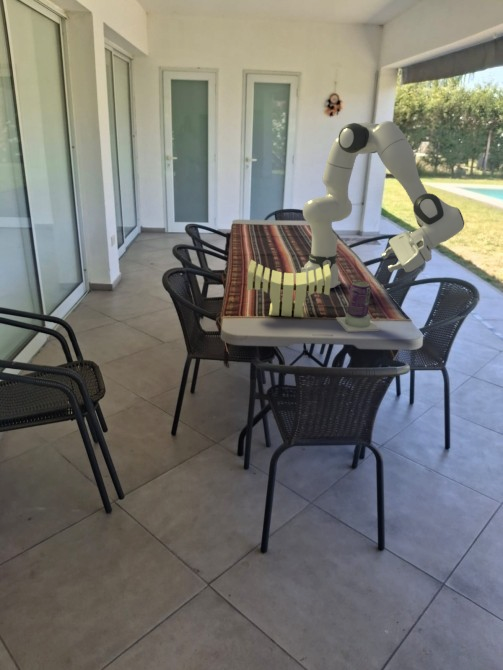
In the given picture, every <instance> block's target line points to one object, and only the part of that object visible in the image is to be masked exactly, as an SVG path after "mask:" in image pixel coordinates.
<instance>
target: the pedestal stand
mask: <svg viewBox="0 0 503 670" xmlns="http://www.w3.org/2000/svg"><path fill="white" fill-rule="evenodd" d="M371 318H372V316H371V314H369V313H367V315H366V316H364V317H360V318H358V317H353V316H351V315H350V314H348V311H347V312H346V313H345V316H342V317H341V316H340V317H337V316H336V319H335V320H336V321H337V323H339V324H340V326H342V328H343V329H344V330H345V331H346V332H347V333H354V332H355V333H356V332H357V333H359V332H379V331H380V328H379V327H378V326H377V325H376V324H375V323H374V322H373V321H372V320H371Z"/></svg>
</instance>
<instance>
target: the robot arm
mask: <svg viewBox="0 0 503 670" xmlns="http://www.w3.org/2000/svg"><path fill="white" fill-rule="evenodd" d="M331 145H332V146H331V147H330V149H329V153H328V156H327V159H326V164H325V167H324V171H323V174H322V175H323V176H322V183H323V185H324V186H325V187H326V194H325V196H320V197H314V198H313V199H309V200H308V201H306V202H305V203H304V205H303V207H302V215H303V219H304V220H305V222H307V223H308V225H309V228H310V231H311V249H310V250H311V251H310V254H309V255H308V261H307V262H306V263H305V264H304V267H302V266H301V268H300V269H301V270H300V273H302V272H306V280H307V285H308V271H311V270H313V271H314V279H315V285H316V269H317V268H320V267H321V271H322V276H323V284H322V286H324V274H323V266H325V265H327V264H329V268H330V272H331V283H330V289H332V288H336V287H337V286H339V285H341V281H340V280H339V266H338V265H337V260H338V256H337V255H338V254H337V247H338V239H339V238H338V236H337V234H336V233H335V232H334V231H333V225H332V223H335V222H341V221H343V220H345V219H347V218H348V217H350V215H351V213H352V210H353V205H352V201H351V200H350V198H349V184H350V181H351V176H352V172H353V169H354V167H355V163H356V162H355V161H356V159H357V157H358V155H359V154H360V155H365V154H376V153H377V155H378V157H379V159H380V161H381V162H382V164H383V165H384V167H385V168H386V170H387V171H388V172H389V173H390V174H391V175H392V176H393V178H395V179H396V180H397V182H398V183H399V184H400V185H401V186H402V187H403V189H404V190H405V192H406V194H407V196H408V198H409V200H410V202H411V203H412V205H413V207H412V208H413V210H412V211H413V214H414V216H415V219H416V223H417V225H418V227H419V228H417V229H416V230H414V231H413V230H412V231H409V230H407V231H403V232H401V233H398V234H396V235H395V236H393V237H392V238H390V239H389V240H388V243H389V247H388V248H386V250H385V251H384V252H382V253H381V254H380V256H381V258H382V260H386V259H387V258H389V255H390V254H393V253H394V255H395V257H396V258H397V259H398V262H396V264H390V265H388V266H387V269H388V271H389V272H390V273H393V272H394V271H398V270H401V269H403V270H404V272H405V273H409V272H412V271H414V270H416V269H418V268H419V267H421V266H423V265H424V263H425V262H426V263H429V262H430V261H432V250H433V249H435V248H436V247H437V246H439V245H440V244H442V243H444V242H447V241H449V240H450V239H451V238H454V236H456V235H457V234H459V233H460V232H461V231H463V230H464V226H465V220H464V217H463V214H462V211H461V210H460V208H458V207H455V206H453V205H450V204H449V203H447V202H445V201H444V200H442V199H441V198H439V197H438V196H437V195H435V194H433V193H429V192H428V191H427V190H426V187H425V186H424V184H423V181H421V179H420V176H419V171H418V167H417V166H418V165H417V161H416V157H415V154H414V151H413V148H412V146H411V143H410V142H409V140H408V138H407V137H406V135H405V134H404V133H403V131H402V130H401V129H400V128H399V126H398V125H397V124H396V123H395V122H393V121H391V120H385V121H383V122H381V123H374V122H373V123H371V122H361V123H359V122H358V123H356V122H351V123H348V124H346V125H344V126H343V127H342V128H341V130H340V131H339V134H338V136H337V137H336V138H335V140H334V141H333V143H332V144H331Z"/></svg>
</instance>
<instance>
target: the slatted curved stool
mask: <svg viewBox="0 0 503 670" xmlns="http://www.w3.org/2000/svg"><path fill="white" fill-rule="evenodd" d="M263 271H264V272H263ZM270 274H271V278H270ZM323 274H324V286H322V284H323V276H322V271H321V267H320V268H317V269H316V285H315V279H314V271H313V270H311V271H308V285H307V280H306V272H296V273H294V272H293V273H292V272H291V273H289V272H284V273H282V271H278V270H274V269H272V271H271V269H270V268H269V267H265V268H264V265H262V264H260V263H258V264H257V262H256V261H255V260H253V259H250V262H249V266H248V271H247V281H246V282H247V286H246V287H247V288H246V291H253V289H254V290H256V291H257V290H258V291H260V290H262V291H263V292H264V293H266V294H268V292H269V299H270V301H271V303H270V304H269V305H270V306H269V313H268V316H280V315H281V317H292V315H293V318H295V317H296V318H304V303H305V301H306V299H307V298H306V297H307V296H311V295H314V294H315V293H316V294H322V293H323V294H324V295H327V296H330V294H331V293H330V292H331V291H330V290H331V288H330V283H331V272H330V268H329V264H327V265H325V266H323ZM282 275H283V277H282ZM294 275H295V277H294ZM254 278H255V279H254ZM282 278H283V282H282ZM294 278H295V279H294ZM294 280H295V282H294ZM269 281H270V282H269ZM269 290H270V291H269ZM281 291H282V297H281ZM294 291H295V294H294ZM307 294H308V295H307ZM294 295H295V296H294ZM281 298H282V299H281ZM293 299H294V300H293ZM280 310H281V314H280ZM292 311H293V313H292Z"/></svg>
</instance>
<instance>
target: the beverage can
mask: <svg viewBox="0 0 503 670" xmlns="http://www.w3.org/2000/svg"><path fill="white" fill-rule="evenodd" d="M370 286H371V284H370V283H369V282H366V281H361V280H358V281H357V280H355V281H353V282H352V284H351V286H350V289H349V299H348V307H347V312H348V314H350V315H351V316H353V317H358V318H360V317H364V316H366V315H367V313H368V311H369V304H370V298H371V292H372V291H371V290H372V289H371V287H370ZM368 314H369V313H368Z"/></svg>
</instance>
